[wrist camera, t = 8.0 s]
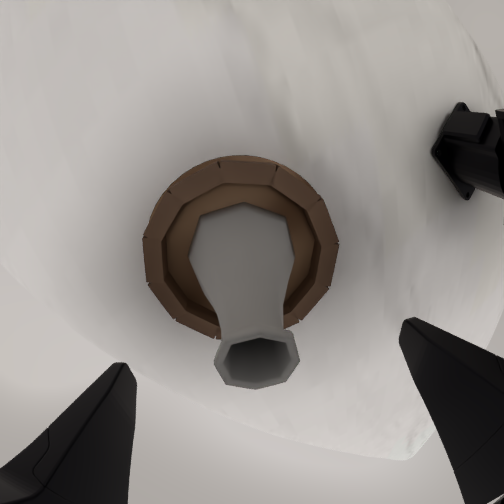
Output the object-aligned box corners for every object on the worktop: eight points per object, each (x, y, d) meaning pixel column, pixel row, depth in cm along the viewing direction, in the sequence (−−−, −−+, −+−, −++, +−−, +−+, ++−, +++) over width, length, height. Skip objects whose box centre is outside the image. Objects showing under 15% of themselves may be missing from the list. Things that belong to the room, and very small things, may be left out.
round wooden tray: (362, 224, 19) (376, 234, 17) (262, 346, 23) (265, 363, 21) (210, 117, 15) (208, 114, 14) (121, 276, 19) (112, 290, 17)
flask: (185, 200, 17) (142, 278, 8) (299, 202, 18) (373, 276, 8) (190, 299, 20) (174, 414, 11) (289, 298, 20) (328, 407, 11)
